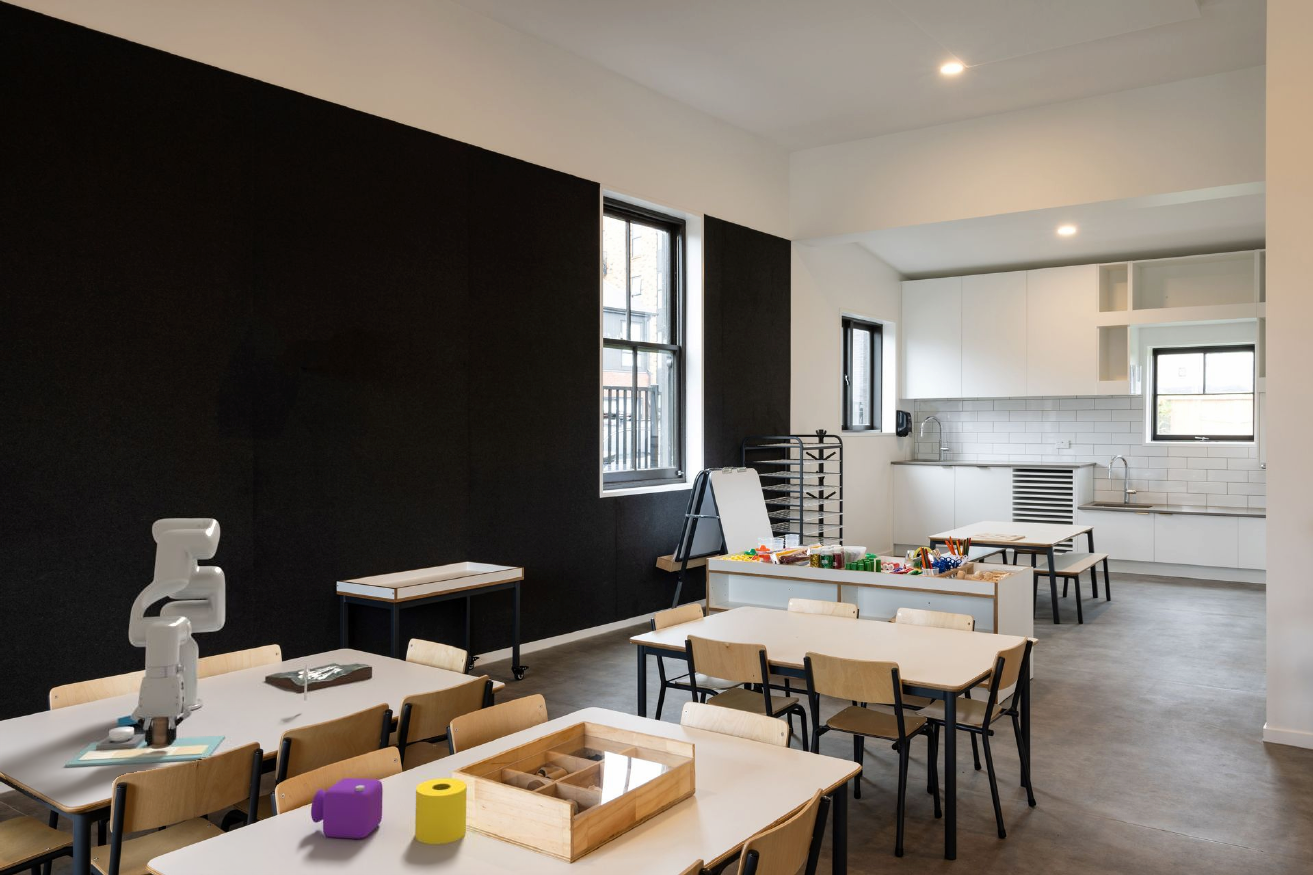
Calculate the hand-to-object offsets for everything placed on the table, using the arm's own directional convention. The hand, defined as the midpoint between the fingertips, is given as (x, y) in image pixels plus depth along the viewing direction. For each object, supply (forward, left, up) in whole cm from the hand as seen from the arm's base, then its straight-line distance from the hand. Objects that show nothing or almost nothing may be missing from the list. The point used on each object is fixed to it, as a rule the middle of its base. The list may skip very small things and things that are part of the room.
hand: (160, 743), depth 236 cm
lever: (-24, -10, -3) cm, 26 cm away
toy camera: (+58, +50, -3) cm, 77 cm away
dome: (-8, -12, -2) cm, 14 cm away
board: (-3, -4, -3) cm, 5 cm away
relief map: (-62, +30, -4) cm, 69 cm away
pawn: (0, 0, -1) cm, 1 cm away
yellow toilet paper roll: (+63, +69, -3) cm, 94 cm away
